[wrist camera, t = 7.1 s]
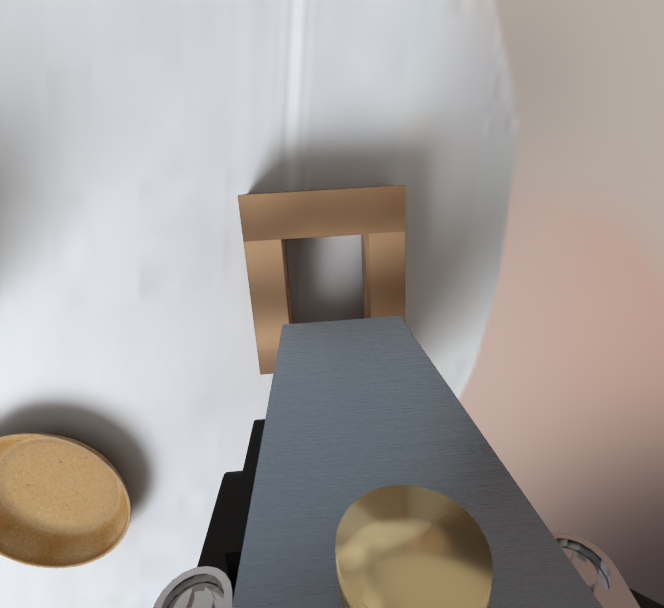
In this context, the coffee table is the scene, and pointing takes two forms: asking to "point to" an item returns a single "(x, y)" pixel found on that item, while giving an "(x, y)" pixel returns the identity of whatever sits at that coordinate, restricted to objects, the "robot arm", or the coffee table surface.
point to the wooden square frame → (321, 221)
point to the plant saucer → (58, 501)
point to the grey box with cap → (386, 488)
